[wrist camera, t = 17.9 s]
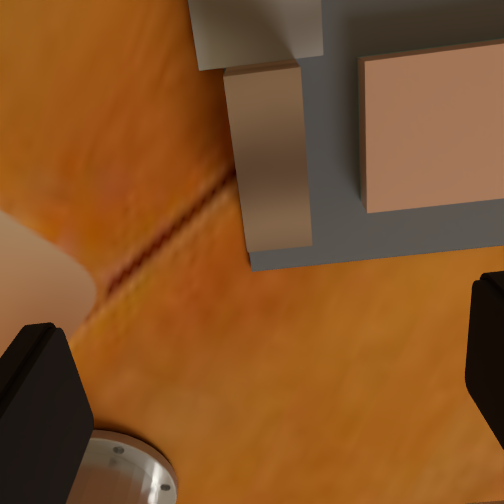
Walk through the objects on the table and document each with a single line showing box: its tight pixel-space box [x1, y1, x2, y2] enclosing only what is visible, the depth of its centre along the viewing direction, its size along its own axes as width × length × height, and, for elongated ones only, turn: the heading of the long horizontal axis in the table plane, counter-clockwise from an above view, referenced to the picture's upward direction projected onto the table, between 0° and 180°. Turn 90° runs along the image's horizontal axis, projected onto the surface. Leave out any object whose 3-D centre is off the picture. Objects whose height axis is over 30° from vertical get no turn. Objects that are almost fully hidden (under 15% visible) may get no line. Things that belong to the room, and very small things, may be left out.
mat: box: [223, 0, 504, 272], centre depth 27 cm, size 16×16×1 cm
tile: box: [357, 38, 504, 213], centre depth 26 cm, size 10×2×8 cm
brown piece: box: [188, 0, 323, 252], centre depth 24 cm, size 14×6×4 cm, turn 7°
